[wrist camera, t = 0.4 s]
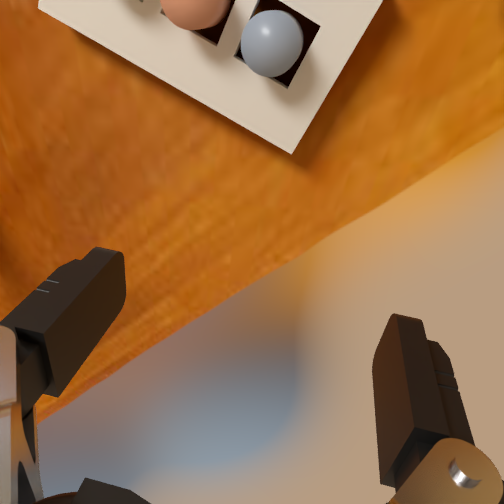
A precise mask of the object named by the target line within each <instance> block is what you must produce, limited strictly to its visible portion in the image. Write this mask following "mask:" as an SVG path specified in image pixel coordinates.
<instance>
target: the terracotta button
mask: <svg viewBox="0 0 504 504" xmlns="http://www.w3.org/2000/svg"><path fill="white" fill-rule="evenodd" d="M230 2H231V0H160V3H161V6H162V9H163V11H164V13H165V15H166V16H167V17H168V19H169V20H170V21H171V22H172V23H173V24H174V25H176V26H177V27H179V28H182V29H184V30H197V29H204V28H210V27H214V26H216V25H218V24H219V23H220V22H221V21H222V20H223V19H224V18H225V17H226V15H227V13H228V10H229V7H230Z"/></svg>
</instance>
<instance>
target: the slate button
mask: <svg viewBox="0 0 504 504" xmlns="http://www.w3.org/2000/svg"><path fill="white" fill-rule="evenodd" d="M303 44H304V35H303V30H302V27H301V25H300V23H299V22H298V20H297V19H296V18H295V17H294V16H293V15H292V14H290V13H288V12H286V11H282V10H268V11H263V12H260V13H258V14H256V15H255V16H254V17H252V18H251V19H250V20H249V22H248V23H247V24H246V26H245V28H244V30H243V33H242V37H241V52H242V55H243V58H244V60H245V62H246V64H247V65H248V67H249V68H250V69H251V70H252V71H253V72H255V73H256V74H258V75H261V76H264V77H276V76H279V75H281V74H283V73H285V72H286V71H288V70H289V69H290V68H291V66H292V65H293V64H294V63H295V62H296V60H297V59H298V58H299V56H300V54H301V52H302V49H303Z"/></svg>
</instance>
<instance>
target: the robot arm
mask: <svg viewBox="0 0 504 504" xmlns="http://www.w3.org/2000/svg"><path fill="white" fill-rule="evenodd" d="M125 298H126V281H125V266H124V256H123V254H122V252H119V251H114V250H110V249H105V248H101V247H95V248H93V249H92V250H91V251H90V252H89V253H88V254H87V255H86V256H85V257H84V258H83V259H82V260H77V259H75V260H73V261H71V262H69V263H67V264H65V265H62V266H60V267H59V268H57V269H56V270H55V271H54V272H53V273H52V274H51V275H50V276H49V277H48V278H47V280H46V281H44V282H42V283H41V284H40V285H39V286H38V287H37V290H34V291H33V292H32V293H31V294H30V295H29V296H28V297H26V298H25V299H24V300H23V301H22V302H21V303H20V304H19V305H18V306H17V307H16V308H15V309H14V310H13V311H12V312H10V313H9V314H8V315H7V316H6V317H5V318H4V319H3V320H2V321H1V322H0V504H150V503H149V502H148V501H146V500H144V499H143V498H141V497H140V496H138V495H137V494H135V493H134V492H132V491H131V490H128V489H124V488H121V487H117V486H114V485H110V484H106V483H103V482H99V481H95V480H92V479H89V478H85V479H84V481H83V483H82V484H81V486H80V488H79V490H78V492H70V493H63V494H58V495H55V496H51V497H47V498H44V497H43V490H42V485H41V479H40V471H39V453H38V436H37V418H36V407H35V403H36V402H37V400H38V399H39V398H40V396H41V395H42V394H46V395H50V396H54V397H59V396H60V395H61V393H62V392H63V390H64V389H65V388H66V386H67V385H68V384H69V382H70V381H71V379H72V378H73V377H74V375H75V374H76V372H77V371H78V370H79V368H80V367H81V365H82V364H83V363H84V361H85V360H86V359H87V357H88V356H89V354H90V353H91V352H92V350H93V349H94V347H95V346H96V345H97V343H98V342H99V340H100V339H101V338H102V336H103V335H104V334H105V332H106V331H107V329H108V328H109V327H110V325H111V324H112V322H113V321H114V320H115V318H116V317H117V315H118V314H119V313H120V311H121V309H122V307H123V305H124V302H125ZM372 375H373V388H374V403H375V416H376V431H377V444H378V458H379V471H380V484H383V485H387V486H391V487H394V488H395V490H396V494H395V495H394V497H393V498H392V499H391V500H390V501H389V502H388V503H386V504H504V481H503V480H502V479H501V476H500V474H499V472H498V470H497V468H496V467H495V465H494V464H493V462H492V461H491V460H490V459H489V458H488V457H487V456H486V455H485V454H484V453H483V452H482V451H481V450H479V449H478V448H477V447H476V446H475V444H474V440H473V437H472V434H471V430H470V427H469V423H468V420H467V417H466V413H465V410H464V406H463V403H462V400H461V396H460V392H458V385H457V382H456V379H455V378H454V372H453V368H452V365H451V362H450V358H449V357H448V356H447V354H446V353H445V351H444V350H443V349H442V347H441V346H440V345H439V343H438V342H435V341H430V340H427V338H426V334H425V330H424V326H423V322H422V320H420V319H417V318H412V317H407V316H403V315H398V314H392V315H391V317H390V319H389V321H388V323H387V325H386V328H385V330H384V333H383V335H382V337H381V339H380V342H379V344H378V346H377V349H376V352H375V355H374V359H373V366H372Z"/></svg>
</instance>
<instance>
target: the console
mask: <svg viewBox="0 0 504 504" xmlns="http://www.w3.org/2000/svg"><path fill="white" fill-rule="evenodd" d="M259 1H260V0H235V3H234V5H233V8H232V10H231V12H230V15H229V17H228V20H227V22H226V25H225V27H224V30H223V32H222V35H221V37H220V40H219V42H218V45H217V44H216V43H214V42H212V41H211V40H209V39H207V38H206V37H204V36H202V35H201V34H199V33H197V32H196V31H194V30H184V29H182V28H179V27H177V26H176V25H174V24H173V23H172V22H171V21H170V20H169V19H168V17H167V16H166V15H165V13H164V11H163V9H162V6H161V3H160V0H39V4H38V8H39V9H40V10H42V11H44V12H46V13H47V14H49V15H51V16H52V17H54V18H56V19H58V20H59V21H61V22H63V23H65V24H66V25H68V26H70V27H72V28H73V29H75V30H77V31H78V32H80V33H82V34H84V35H85V36H87V37H89V38H91V39H92V40H94V41H96V42H97V43H99V44H101V45H103V46H104V47H106V48H108V49H110V50H111V51H113V52H115V53H117V54H118V55H120V56H122V57H123V58H125V59H127V60H129V61H130V62H132V63H134V64H136V65H137V66H139V67H141V68H143V69H144V70H146V71H148V72H149V73H151V74H153V75H155V76H156V77H158V78H160V79H162V80H163V81H165V82H167V83H169V84H170V85H172V86H174V87H175V88H177V89H179V90H181V91H182V92H184V93H186V94H188V95H189V96H191V97H193V98H194V99H196V100H198V101H200V102H201V103H203V104H205V105H207V106H208V107H210V108H212V109H214V110H215V111H217V112H219V113H220V114H222V115H224V116H226V117H227V118H229V119H231V120H233V121H234V122H236V123H238V124H240V125H241V126H243V127H245V128H246V129H248V130H250V131H252V132H253V133H255V134H257V135H259V136H260V137H262V138H264V139H265V140H267V141H269V142H271V143H272V144H274V145H276V146H278V147H279V148H281V149H283V150H285V151H286V152H288V153H290V154H291V155H292V153H293V151H294V150H295V148H296V146H297V144H298V143H299V141H300V139H301V138H302V136H303V134H304V133H305V131H306V129H307V128H308V126H309V124H310V123H311V121H312V119H313V118H314V116H315V114H316V112H317V111H318V109H319V107H320V106H321V104H322V102H323V101H324V99H325V97H326V96H327V94H328V92H329V91H330V89H331V87H332V86H333V84H334V82H335V81H336V79H337V77H338V75H339V74H340V72H341V70H342V69H343V67H344V65H345V64H346V62H347V60H348V59H349V57H350V55H351V54H352V52H353V50H354V49H355V47H356V45H357V43H358V42H359V40H360V38H361V37H362V35H363V33H364V32H365V30H366V28H367V27H368V25H369V23H370V22H371V20H372V18H373V17H374V15H375V13H376V11H377V10H378V8H379V6H380V5H381V3H382V1H383V0H279V1H281V2H283V3H284V4H286V5H287V6H289V7H291V8H292V9H294V10H295V11H297V12H299V13H300V14H302V15H304V16H305V17H307V18H308V19H310V20H312V21H313V22H315V23H316V24H318V25H320V26H321V27H320V29H319V31H318V33H317V34H316V36H315V38H314V40H313V42H312V44H311V46H310V48H309V49H308V51H307V53H306V55H305V57H304V59H303V61H302V63H301V64H300V66H299V68H298V70H297V72H296V74H295V76H294V78H293V80H292V81H291V83H290V85H289V87H288V86H286V85H285V84H283V83H281V82H279V81H278V80H276V79H274V78H273V77H264V76H261V75H258V74H256V73H255V72H253V71H252V70H251V69H250V68H249V67H248V65H247V64H246V62H245V61H244V60H243V59H241V58H239V57H238V56H236V54H237V52H238V50H239V47H240V45H241V37H242V33H243V30H244V28H245V26H246V24H247V23H248V22H249V20H250V19H251V18H252V17H253V15H254V13H255V11H256V8H257V6H258V4H259Z"/></svg>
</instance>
